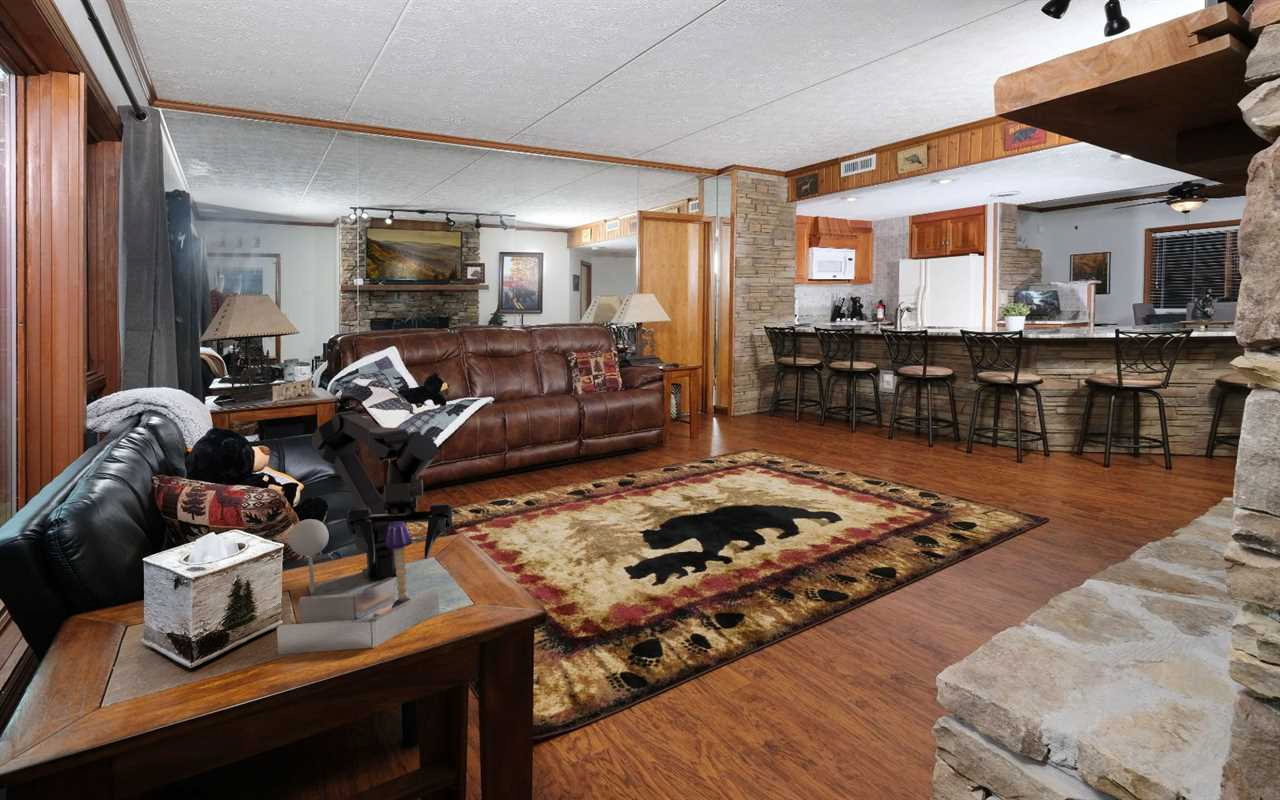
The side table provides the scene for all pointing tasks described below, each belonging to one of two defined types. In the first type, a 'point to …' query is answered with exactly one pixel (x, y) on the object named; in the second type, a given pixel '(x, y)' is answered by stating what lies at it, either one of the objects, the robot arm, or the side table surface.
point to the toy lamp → (399, 556)
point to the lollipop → (309, 541)
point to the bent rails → (349, 608)
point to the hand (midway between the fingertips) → (399, 560)
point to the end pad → (383, 610)
